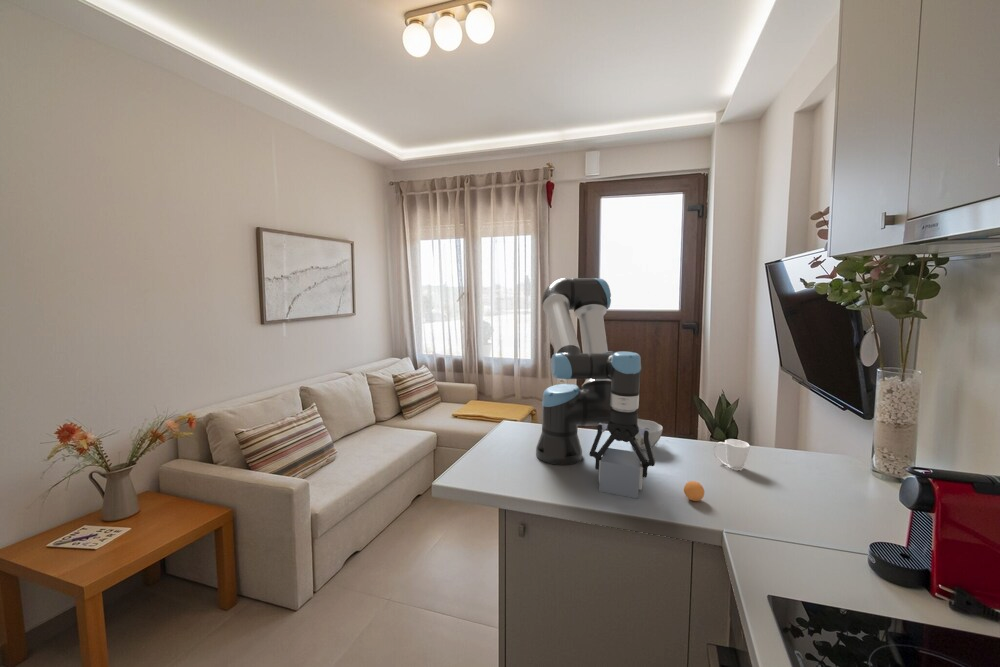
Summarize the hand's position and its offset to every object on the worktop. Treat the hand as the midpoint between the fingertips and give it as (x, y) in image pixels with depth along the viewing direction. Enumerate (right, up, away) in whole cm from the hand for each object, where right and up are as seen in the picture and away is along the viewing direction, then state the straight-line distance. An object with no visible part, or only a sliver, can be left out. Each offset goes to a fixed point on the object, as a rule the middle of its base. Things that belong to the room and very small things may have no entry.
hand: (620, 483), depth 120 cm
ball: (+18, +1, -7) cm, 19 cm away
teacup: (+17, +3, +30) cm, 34 cm away
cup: (+39, 0, +14) cm, 41 cm away
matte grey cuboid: (0, -1, 0) cm, 1 cm away
